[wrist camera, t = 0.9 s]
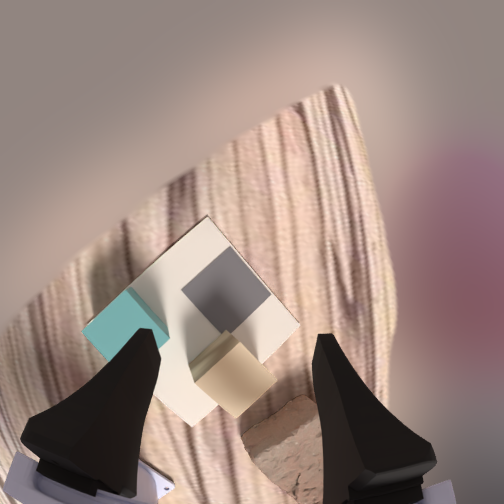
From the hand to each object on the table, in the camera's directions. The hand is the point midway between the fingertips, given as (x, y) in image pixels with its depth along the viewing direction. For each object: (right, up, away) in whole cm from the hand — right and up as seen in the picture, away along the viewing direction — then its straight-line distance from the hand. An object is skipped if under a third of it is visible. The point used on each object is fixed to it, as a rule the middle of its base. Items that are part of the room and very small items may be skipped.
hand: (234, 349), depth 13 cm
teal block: (-9, -2, +10) cm, 14 cm away
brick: (+7, -19, +15) cm, 25 cm away
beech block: (-2, -6, +12) cm, 14 cm away
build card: (-4, -2, +12) cm, 13 cm away
